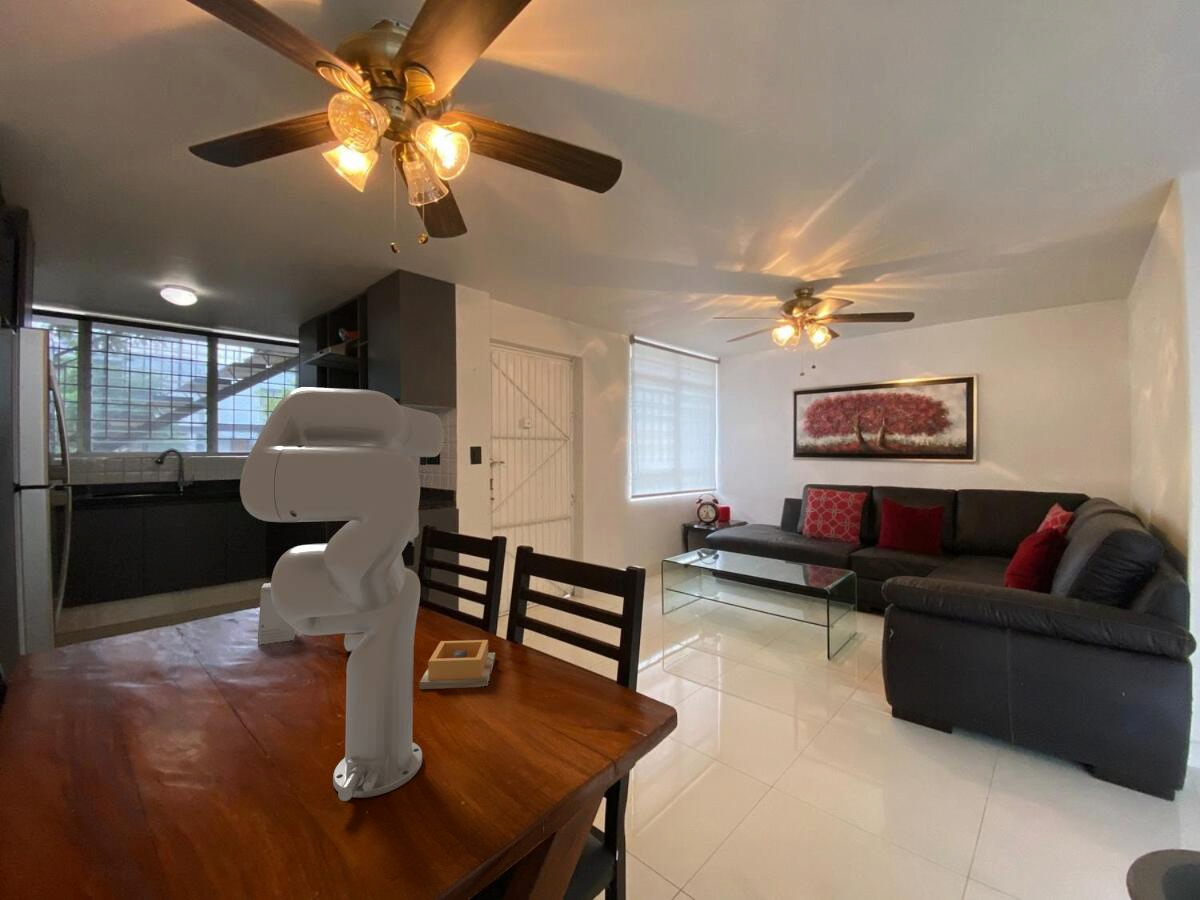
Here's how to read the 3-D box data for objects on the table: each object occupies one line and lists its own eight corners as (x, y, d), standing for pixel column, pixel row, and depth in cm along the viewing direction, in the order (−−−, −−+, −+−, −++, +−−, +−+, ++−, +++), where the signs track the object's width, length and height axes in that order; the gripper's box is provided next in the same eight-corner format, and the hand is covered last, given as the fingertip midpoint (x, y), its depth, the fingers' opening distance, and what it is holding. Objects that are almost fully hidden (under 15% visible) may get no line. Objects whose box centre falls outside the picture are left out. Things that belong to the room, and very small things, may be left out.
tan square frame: (480, 678, 101) (480, 659, 101) (428, 680, 100) (428, 661, 100) (487, 656, 112) (488, 639, 112) (440, 658, 111) (440, 641, 111)
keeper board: (487, 686, 101) (487, 665, 101) (419, 689, 99) (419, 667, 100) (495, 658, 115) (495, 640, 115) (435, 660, 113) (436, 641, 113)
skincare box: (257, 646, 121) (258, 588, 121) (261, 638, 127) (262, 582, 127) (295, 640, 125) (296, 584, 125) (298, 633, 130) (299, 579, 131)
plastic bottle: (378, 645, 122) (379, 568, 123) (362, 656, 116) (363, 574, 116) (354, 644, 123) (355, 567, 123) (337, 655, 116) (339, 573, 117)
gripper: (401, 484, 85) (399, 580, 84) (431, 482, 102) (429, 561, 102) (359, 484, 85) (356, 580, 84) (395, 482, 102) (394, 562, 101)
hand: (396, 570), depth 93 cm, fingers open, 9 cm apart
